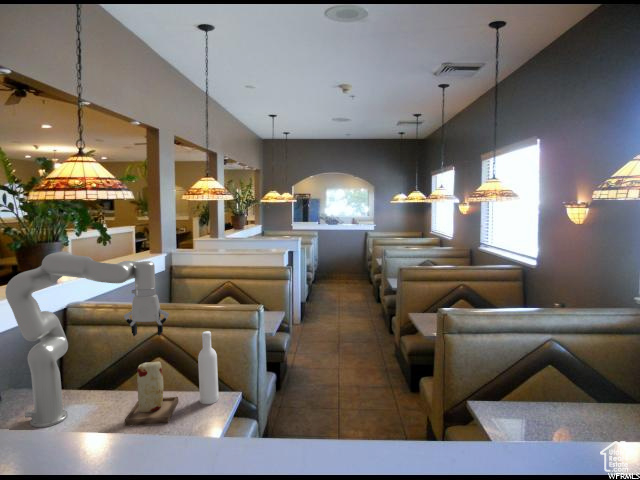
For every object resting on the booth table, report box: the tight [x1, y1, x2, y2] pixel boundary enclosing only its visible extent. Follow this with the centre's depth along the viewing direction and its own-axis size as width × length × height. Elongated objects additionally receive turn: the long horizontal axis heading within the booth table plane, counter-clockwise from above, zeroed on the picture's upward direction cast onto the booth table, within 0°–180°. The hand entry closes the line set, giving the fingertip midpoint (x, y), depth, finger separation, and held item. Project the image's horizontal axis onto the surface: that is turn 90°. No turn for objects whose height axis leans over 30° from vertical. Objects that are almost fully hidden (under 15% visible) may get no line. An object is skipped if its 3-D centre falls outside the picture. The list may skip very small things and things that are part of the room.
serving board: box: [124, 396, 179, 427], centre depth 178 cm, size 16×18×2 cm
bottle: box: [197, 330, 220, 405], centre depth 188 cm, size 8×8×30 cm
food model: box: [136, 361, 164, 412], centre depth 177 cm, size 10×7×20 cm
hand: (147, 334), depth 176 cm, fingers open, 9 cm apart
